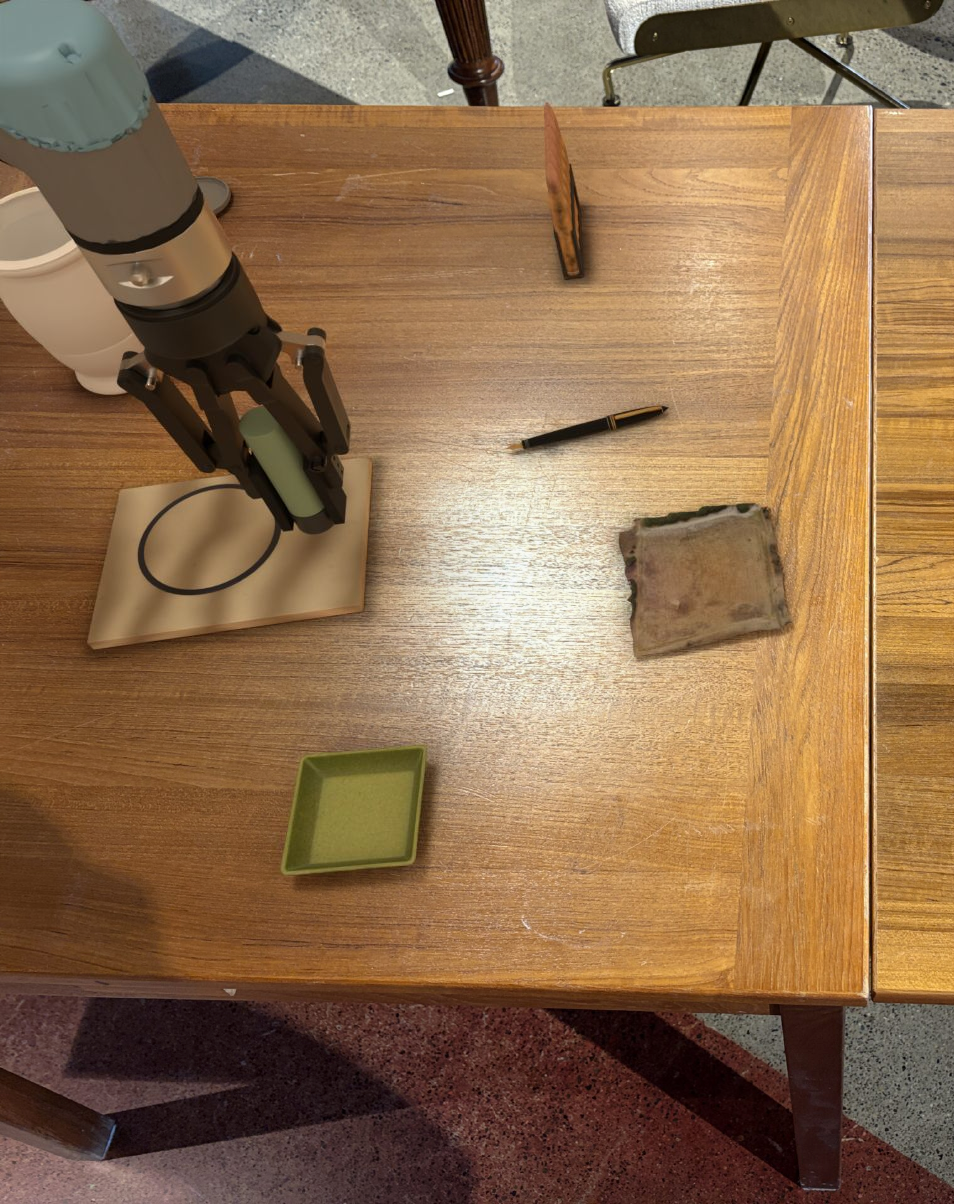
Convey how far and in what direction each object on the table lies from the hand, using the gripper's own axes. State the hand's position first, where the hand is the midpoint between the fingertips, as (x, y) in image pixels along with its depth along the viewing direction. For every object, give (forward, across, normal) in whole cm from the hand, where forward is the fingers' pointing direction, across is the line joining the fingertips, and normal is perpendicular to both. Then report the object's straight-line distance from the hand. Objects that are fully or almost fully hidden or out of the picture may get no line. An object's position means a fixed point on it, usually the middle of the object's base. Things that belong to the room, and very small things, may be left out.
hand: (315, 513), depth 90 cm
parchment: (+4, +29, -9) cm, 30 cm away
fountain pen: (+4, +21, +8) cm, 23 cm away
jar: (+3, -20, +24) cm, 31 cm away
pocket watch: (+3, -17, +46) cm, 49 cm away
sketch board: (+3, -7, 0) cm, 8 cm away
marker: (+1, 0, 0) cm, 1 cm away
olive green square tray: (+4, +4, -25) cm, 25 cm away
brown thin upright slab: (+4, +21, +33) cm, 39 cm away
